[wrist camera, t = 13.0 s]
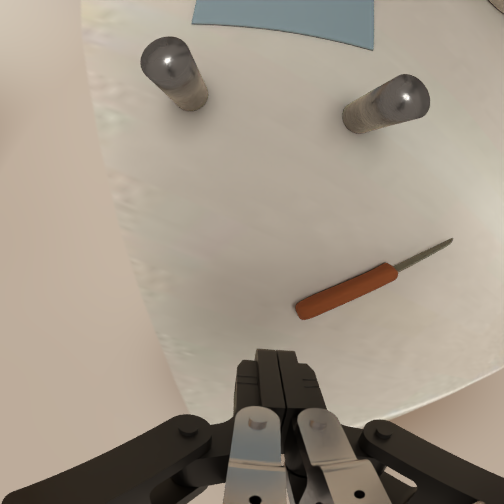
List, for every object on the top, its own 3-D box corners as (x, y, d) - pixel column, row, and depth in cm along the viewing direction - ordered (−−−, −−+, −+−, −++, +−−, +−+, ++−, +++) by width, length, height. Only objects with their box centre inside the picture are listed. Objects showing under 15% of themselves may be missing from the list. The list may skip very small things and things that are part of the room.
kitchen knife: (298, 314, 27) (301, 324, 25) (292, 301, 27) (295, 310, 25) (449, 242, 26) (461, 247, 24) (446, 229, 26) (458, 233, 24)
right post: (373, 106, 23) (430, 82, 14) (370, 136, 23) (428, 124, 15) (343, 99, 23) (391, 68, 14) (340, 130, 23) (389, 112, 15)
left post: (210, 81, 22) (193, 36, 13) (206, 112, 23) (185, 81, 14) (177, 79, 22) (145, 37, 13) (173, 110, 23) (136, 81, 14)
